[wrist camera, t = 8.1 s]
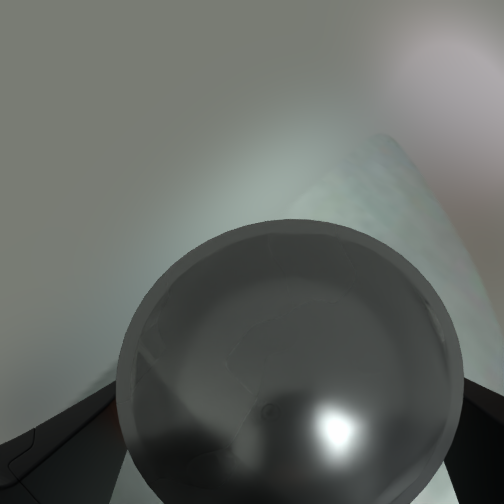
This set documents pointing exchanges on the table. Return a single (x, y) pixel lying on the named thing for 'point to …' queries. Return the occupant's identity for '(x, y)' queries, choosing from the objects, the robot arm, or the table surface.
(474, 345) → the table surface
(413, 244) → the table surface
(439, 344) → the grey ribbed cylinder
